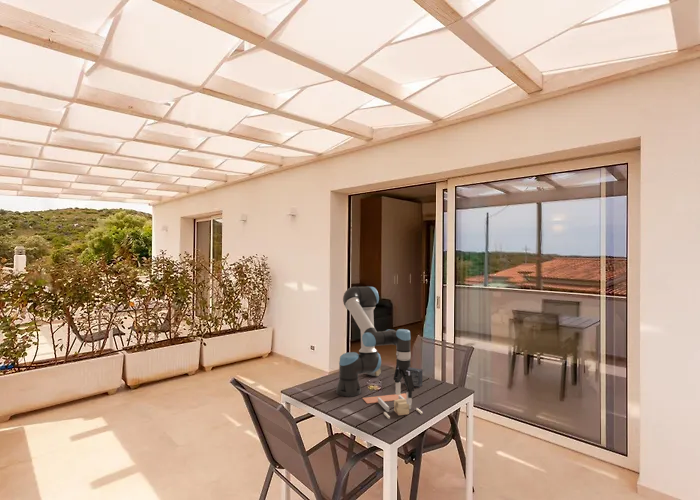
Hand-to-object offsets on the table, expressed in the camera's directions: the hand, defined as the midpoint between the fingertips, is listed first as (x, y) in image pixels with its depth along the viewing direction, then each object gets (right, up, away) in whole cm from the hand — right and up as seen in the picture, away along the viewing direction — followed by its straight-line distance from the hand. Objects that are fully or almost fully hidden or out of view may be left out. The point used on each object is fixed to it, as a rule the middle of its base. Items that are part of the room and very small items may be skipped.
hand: (403, 399), depth 194 cm
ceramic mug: (-11, -10, +64) cm, 66 cm away
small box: (+13, -9, +45) cm, 47 cm away
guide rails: (-4, -8, +11) cm, 14 cm away
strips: (0, -8, 0) cm, 8 cm away
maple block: (-1, -8, +2) cm, 8 cm away
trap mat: (-7, -8, +21) cm, 23 cm away
